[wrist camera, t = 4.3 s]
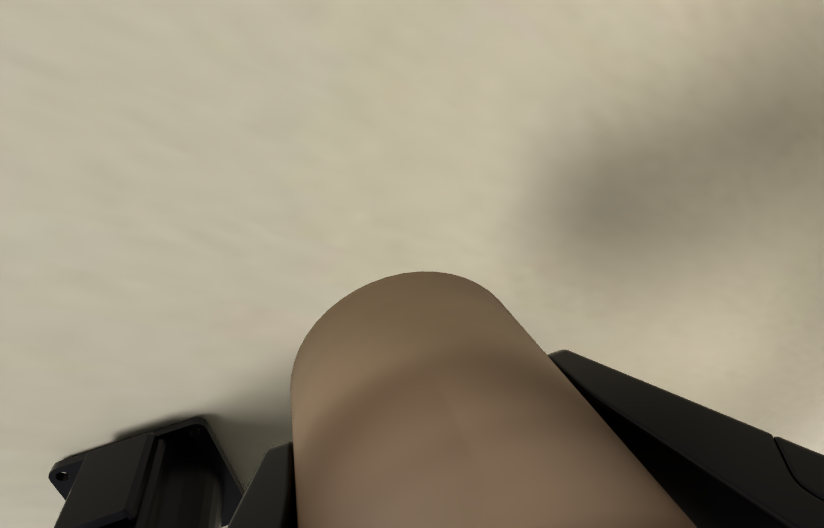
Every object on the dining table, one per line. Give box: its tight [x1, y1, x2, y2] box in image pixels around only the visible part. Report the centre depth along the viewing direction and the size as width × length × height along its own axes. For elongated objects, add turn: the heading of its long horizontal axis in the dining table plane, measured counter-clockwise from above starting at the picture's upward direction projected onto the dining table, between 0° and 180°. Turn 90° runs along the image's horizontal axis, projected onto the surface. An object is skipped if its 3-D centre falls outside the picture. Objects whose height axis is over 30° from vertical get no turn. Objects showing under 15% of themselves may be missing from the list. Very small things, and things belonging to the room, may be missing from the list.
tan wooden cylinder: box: [290, 272, 697, 528], centre depth 7 cm, size 5×5×5 cm
